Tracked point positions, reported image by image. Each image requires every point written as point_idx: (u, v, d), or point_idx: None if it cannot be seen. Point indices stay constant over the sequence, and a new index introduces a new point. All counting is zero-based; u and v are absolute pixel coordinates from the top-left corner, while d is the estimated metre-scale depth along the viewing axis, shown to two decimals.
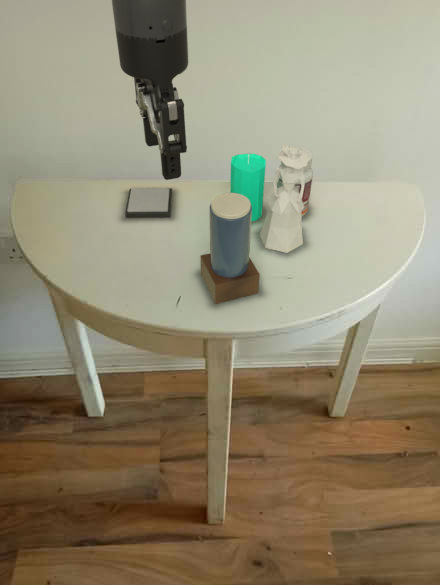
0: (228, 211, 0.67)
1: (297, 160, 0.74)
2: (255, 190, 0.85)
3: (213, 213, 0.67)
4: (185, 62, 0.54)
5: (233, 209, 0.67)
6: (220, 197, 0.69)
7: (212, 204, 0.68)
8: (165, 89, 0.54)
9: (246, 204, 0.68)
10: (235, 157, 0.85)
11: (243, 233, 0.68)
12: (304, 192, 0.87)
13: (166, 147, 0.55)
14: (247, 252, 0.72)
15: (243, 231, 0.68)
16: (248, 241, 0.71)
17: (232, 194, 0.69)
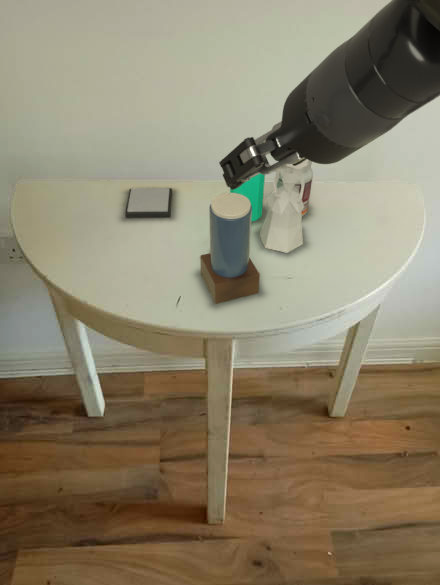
0: (228, 211, 0.67)
1: None
2: (255, 190, 0.85)
3: (213, 213, 0.67)
4: (315, 158, 0.43)
5: (233, 209, 0.67)
6: (220, 197, 0.69)
7: (212, 204, 0.68)
8: (279, 142, 0.45)
9: (246, 204, 0.68)
10: None
11: (243, 233, 0.68)
12: (304, 192, 0.87)
13: (222, 161, 0.48)
14: (247, 252, 0.72)
15: (243, 231, 0.68)
16: (248, 241, 0.71)
17: (232, 194, 0.69)
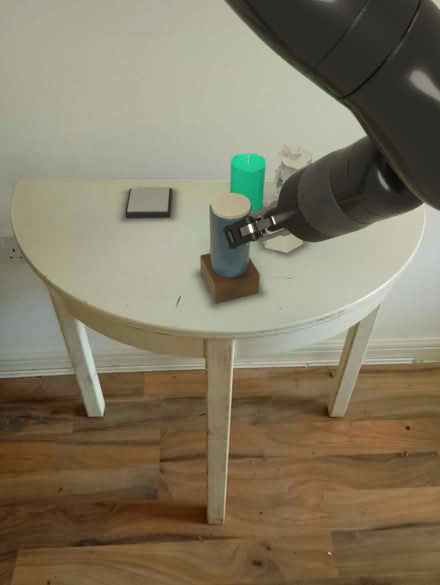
0: (228, 211, 0.67)
1: (297, 160, 0.74)
2: (255, 190, 0.85)
3: (213, 213, 0.67)
4: (303, 238, 0.50)
5: (233, 209, 0.67)
6: (220, 197, 0.69)
7: (212, 204, 0.68)
8: (275, 221, 0.52)
9: (246, 204, 0.68)
10: (235, 157, 0.85)
11: None
12: None
13: (225, 228, 0.55)
14: (247, 252, 0.72)
15: None
16: None
17: (232, 194, 0.69)
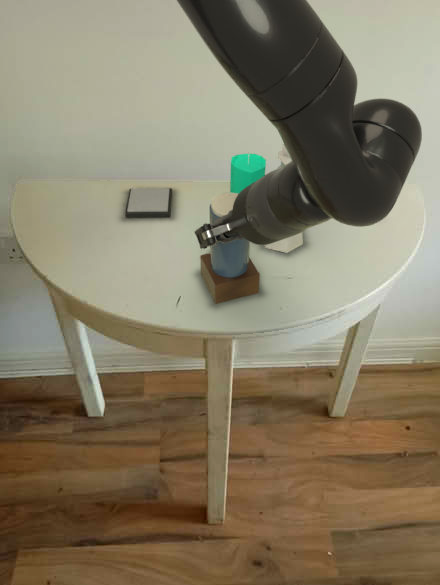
0: (228, 211, 0.67)
1: None
2: None
3: (213, 213, 0.67)
4: (254, 241, 0.60)
5: None
6: (220, 197, 0.69)
7: (212, 204, 0.68)
8: (230, 226, 0.61)
9: None
10: (235, 157, 0.85)
11: None
12: None
13: (196, 231, 0.66)
14: (247, 252, 0.72)
15: None
16: None
17: (232, 194, 0.69)
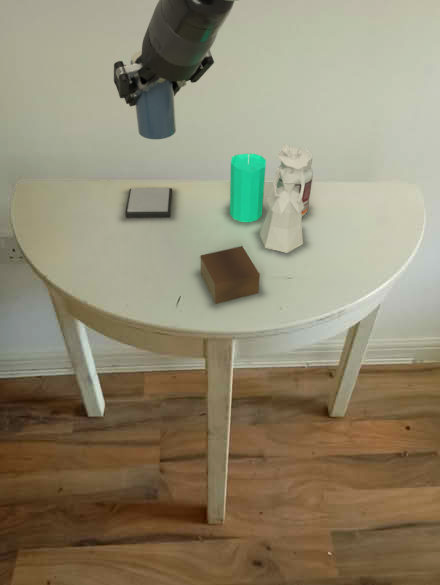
0: None
1: (297, 160, 0.74)
2: (255, 190, 0.85)
3: None
4: (162, 75, 0.62)
5: None
6: None
7: (132, 57, 0.70)
8: (142, 64, 0.64)
9: None
10: (235, 157, 0.85)
11: (163, 86, 0.71)
12: (304, 192, 0.87)
13: (115, 79, 0.68)
14: (171, 112, 0.74)
15: (163, 84, 0.70)
16: (170, 98, 0.73)
17: None
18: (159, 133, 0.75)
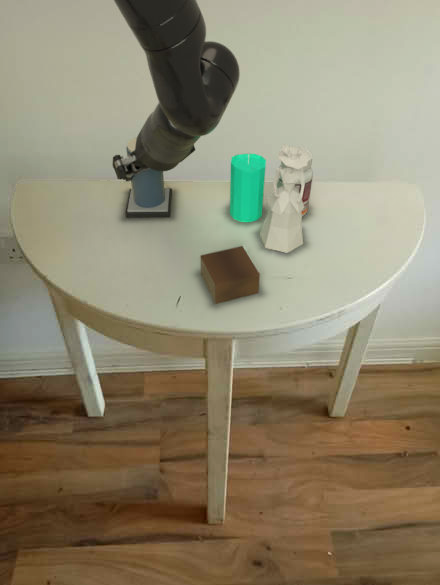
0: None
1: (297, 160, 0.74)
2: (255, 190, 0.85)
3: (128, 151, 0.84)
4: (152, 168, 0.77)
5: None
6: None
7: (127, 144, 0.84)
8: (136, 157, 0.78)
9: None
10: (235, 157, 0.85)
11: None
12: (304, 192, 0.87)
13: None
14: (160, 186, 0.89)
15: None
16: (160, 175, 0.87)
17: None
18: (151, 203, 0.90)
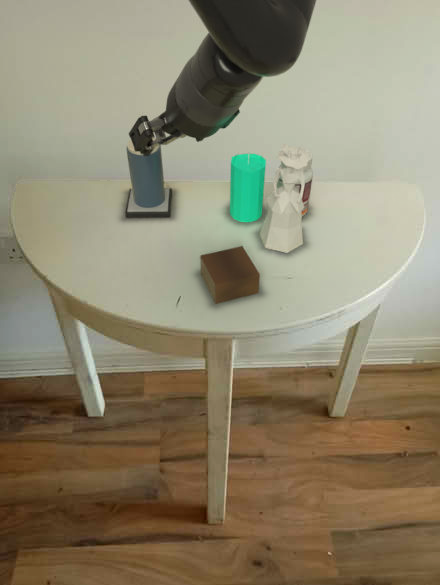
0: None
1: (297, 160, 0.74)
2: (255, 190, 0.85)
3: (128, 151, 0.84)
4: (187, 133, 0.61)
5: None
6: None
7: (128, 144, 0.84)
8: (166, 120, 0.62)
9: None
10: (235, 157, 0.85)
11: (154, 167, 0.85)
12: (304, 192, 0.87)
13: (130, 132, 0.65)
14: (160, 186, 0.89)
15: (154, 166, 0.85)
16: (160, 175, 0.87)
17: None
18: (151, 203, 0.90)
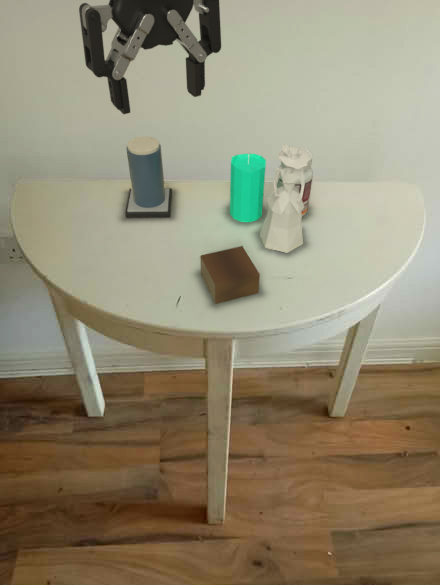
0: (140, 149, 0.83)
1: (297, 160, 0.74)
2: (255, 190, 0.85)
3: (128, 151, 0.84)
4: None
5: (144, 148, 0.83)
6: (136, 139, 0.86)
7: (128, 144, 0.84)
8: (114, 0, 0.47)
9: (155, 144, 0.84)
10: (235, 157, 0.85)
11: (154, 167, 0.85)
12: (304, 192, 0.87)
13: (85, 57, 0.50)
14: (160, 186, 0.89)
15: (154, 166, 0.85)
16: (160, 175, 0.87)
17: (146, 137, 0.86)
18: (151, 203, 0.90)
